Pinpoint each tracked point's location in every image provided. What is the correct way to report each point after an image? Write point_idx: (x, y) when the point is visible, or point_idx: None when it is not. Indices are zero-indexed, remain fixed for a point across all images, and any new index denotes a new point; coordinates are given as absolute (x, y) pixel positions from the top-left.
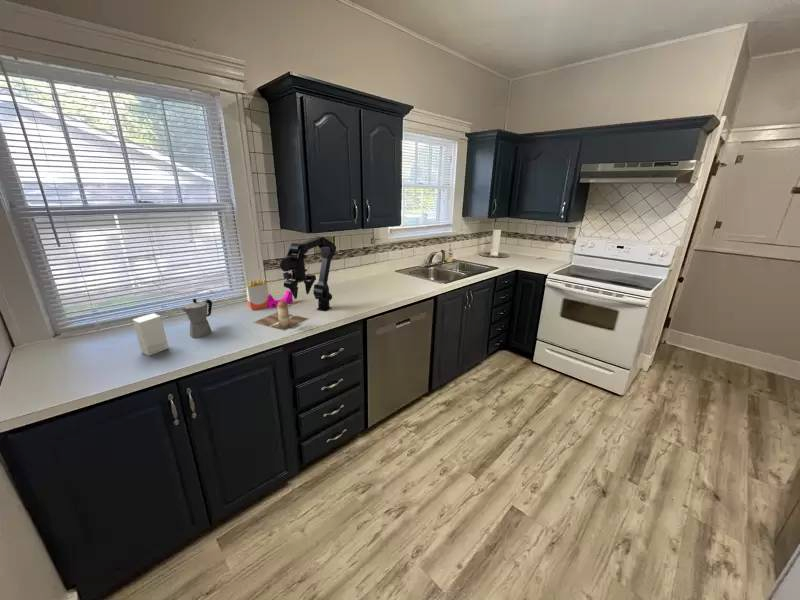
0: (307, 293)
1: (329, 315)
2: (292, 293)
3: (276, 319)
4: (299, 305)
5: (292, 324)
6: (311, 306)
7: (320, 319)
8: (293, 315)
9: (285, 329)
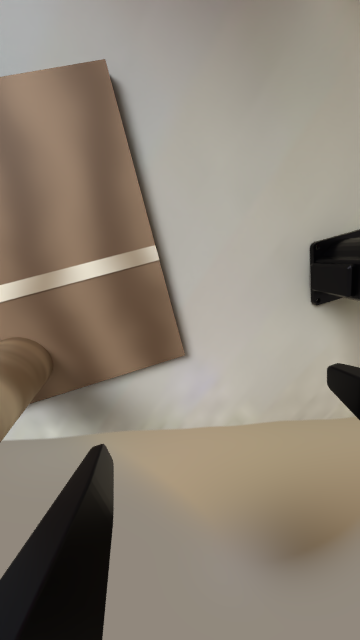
0: (335, 384)
1: (281, 360)
2: (13, 577)
3: (17, 223)
4: (317, 50)
5: (71, 369)
6: (338, 160)
7: (223, 374)
8: (147, 249)
9: None
